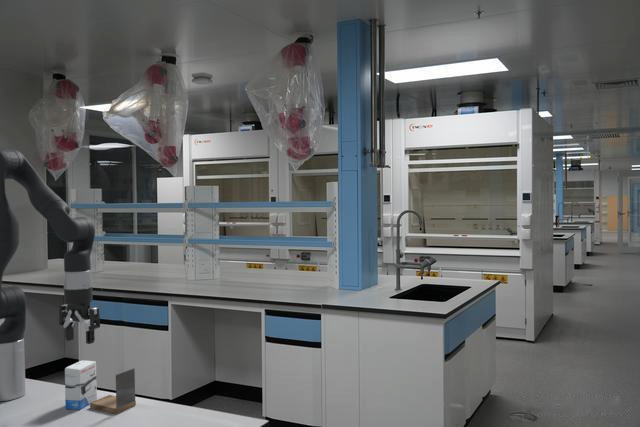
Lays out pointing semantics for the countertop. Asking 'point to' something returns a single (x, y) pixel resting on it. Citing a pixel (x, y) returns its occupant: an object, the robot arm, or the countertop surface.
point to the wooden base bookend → (119, 395)
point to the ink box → (80, 384)
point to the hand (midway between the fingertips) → (79, 341)
